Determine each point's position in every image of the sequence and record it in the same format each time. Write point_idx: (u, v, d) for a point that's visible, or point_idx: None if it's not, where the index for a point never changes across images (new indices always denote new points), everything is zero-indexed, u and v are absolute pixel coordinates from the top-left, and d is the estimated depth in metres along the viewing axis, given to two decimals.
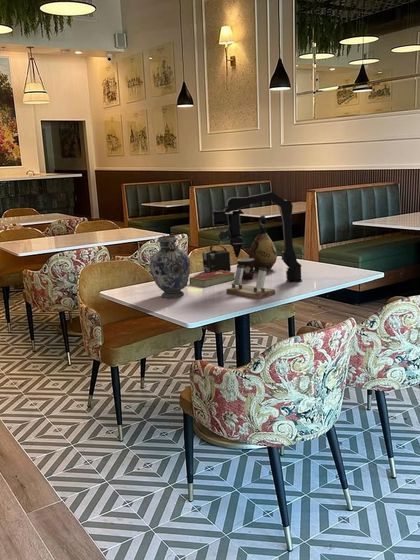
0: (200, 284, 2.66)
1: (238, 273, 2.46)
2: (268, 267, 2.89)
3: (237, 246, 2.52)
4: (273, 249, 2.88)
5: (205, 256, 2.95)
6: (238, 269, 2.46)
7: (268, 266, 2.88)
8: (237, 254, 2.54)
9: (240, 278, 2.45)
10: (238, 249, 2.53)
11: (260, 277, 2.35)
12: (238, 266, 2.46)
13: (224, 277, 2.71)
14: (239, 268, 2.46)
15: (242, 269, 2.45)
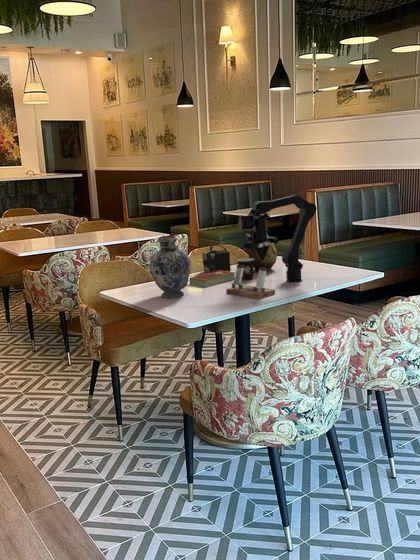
0: (200, 284, 2.65)
1: (238, 273, 2.46)
2: (268, 267, 2.89)
3: (260, 249, 2.54)
4: (273, 249, 2.88)
5: (205, 256, 2.95)
6: (238, 269, 2.46)
7: (268, 266, 2.88)
8: (261, 257, 2.55)
9: (240, 278, 2.45)
10: (261, 252, 2.54)
11: (260, 277, 2.35)
12: (238, 266, 2.46)
13: (224, 277, 2.71)
14: (239, 268, 2.46)
15: (242, 269, 2.45)
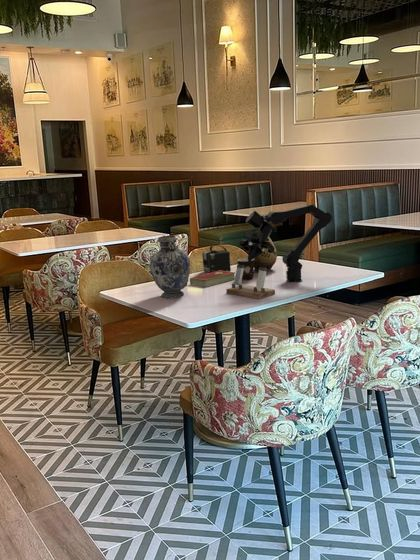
0: (201, 284, 2.65)
1: (238, 273, 2.46)
2: (268, 267, 2.89)
3: (256, 252, 2.50)
4: None
5: (205, 256, 2.95)
6: (238, 269, 2.46)
7: (268, 266, 2.88)
8: (251, 258, 2.50)
9: (240, 278, 2.45)
10: (255, 255, 2.50)
11: (260, 277, 2.35)
12: (238, 266, 2.46)
13: (224, 277, 2.71)
14: (239, 268, 2.46)
15: (242, 269, 2.45)
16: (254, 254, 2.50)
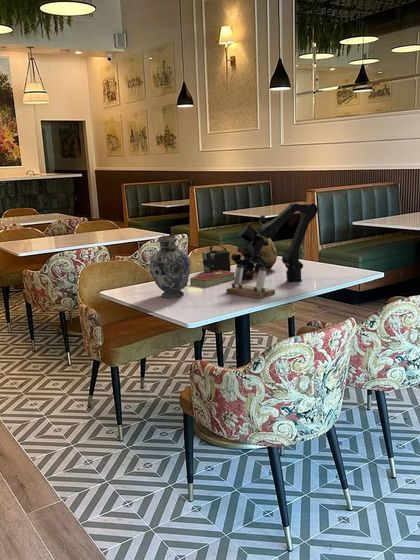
0: (202, 284, 2.65)
1: (238, 273, 2.45)
2: (268, 267, 2.89)
3: (248, 266, 2.48)
4: (273, 249, 2.88)
5: (205, 256, 2.95)
6: (238, 269, 2.46)
7: (268, 266, 2.88)
8: (243, 273, 2.47)
9: (240, 278, 2.45)
10: (247, 269, 2.48)
11: (260, 277, 2.35)
12: (238, 266, 2.46)
13: (225, 277, 2.71)
14: (239, 268, 2.45)
15: (242, 269, 2.45)
16: (246, 269, 2.47)
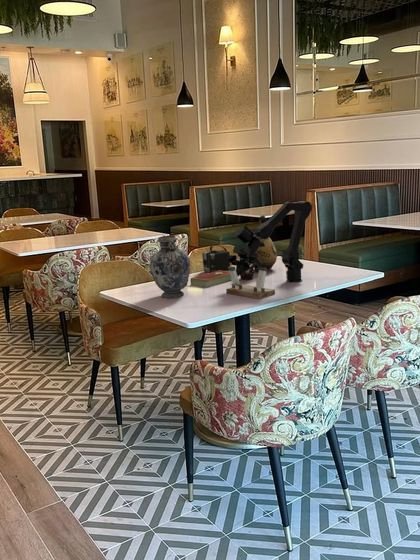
0: (202, 284, 2.65)
1: (232, 275, 2.43)
2: (268, 267, 2.89)
3: (244, 267, 2.46)
4: (273, 249, 2.88)
5: (205, 256, 2.95)
6: (230, 272, 2.43)
7: (268, 266, 2.88)
8: (238, 274, 2.45)
9: (236, 279, 2.44)
10: (243, 270, 2.46)
11: (260, 277, 2.35)
12: (229, 269, 2.43)
13: (225, 277, 2.71)
14: (231, 271, 2.42)
15: (234, 271, 2.42)
16: (241, 270, 2.45)
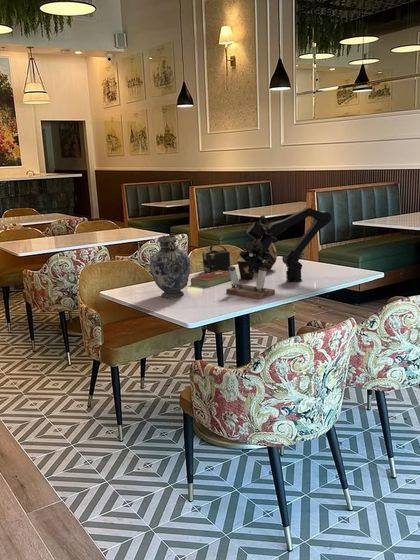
0: (203, 284, 2.64)
1: (232, 275, 2.43)
2: (268, 267, 2.89)
3: (257, 263, 2.52)
4: (273, 249, 2.88)
5: (205, 256, 2.95)
6: (230, 272, 2.43)
7: (268, 266, 2.88)
8: (252, 269, 2.51)
9: (236, 279, 2.44)
10: (256, 266, 2.51)
11: (260, 277, 2.35)
12: (229, 269, 2.43)
13: (225, 277, 2.71)
14: (231, 271, 2.42)
15: (234, 271, 2.42)
16: (255, 265, 2.51)
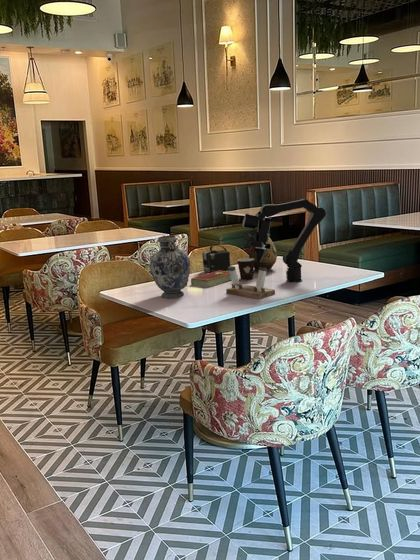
0: (203, 284, 2.64)
1: (232, 275, 2.43)
2: (268, 267, 2.89)
3: (260, 251, 2.56)
4: (273, 249, 2.88)
5: (205, 256, 2.95)
6: (230, 272, 2.43)
7: (268, 266, 2.88)
8: (259, 259, 2.56)
9: (236, 279, 2.44)
10: (260, 254, 2.55)
11: (260, 277, 2.35)
12: (229, 269, 2.43)
13: (225, 277, 2.71)
14: (231, 271, 2.42)
15: (234, 271, 2.42)
16: (259, 254, 2.56)
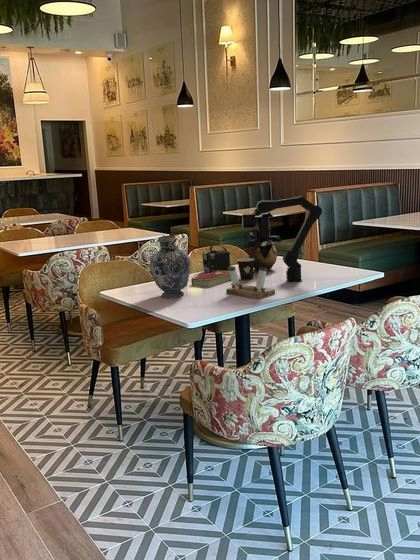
0: (204, 284, 2.64)
1: (232, 275, 2.43)
2: (268, 267, 2.89)
3: (263, 248, 2.58)
4: (273, 249, 2.88)
5: (205, 256, 2.95)
6: (230, 272, 2.43)
7: (268, 266, 2.88)
8: (264, 256, 2.59)
9: (236, 279, 2.44)
10: (264, 251, 2.58)
11: (260, 277, 2.35)
12: (229, 269, 2.43)
13: (226, 277, 2.71)
14: (231, 271, 2.42)
15: (234, 271, 2.42)
16: (263, 251, 2.58)
